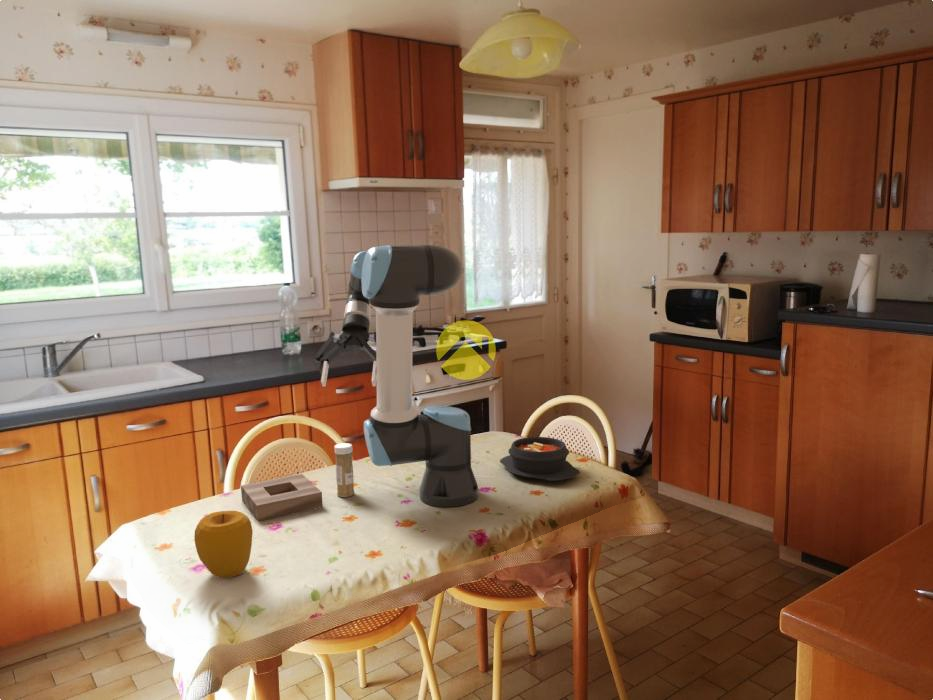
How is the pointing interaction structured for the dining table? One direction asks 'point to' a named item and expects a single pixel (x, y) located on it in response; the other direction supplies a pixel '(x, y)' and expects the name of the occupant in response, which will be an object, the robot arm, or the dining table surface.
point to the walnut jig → (281, 497)
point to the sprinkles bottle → (344, 469)
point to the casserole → (539, 459)
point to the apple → (224, 542)
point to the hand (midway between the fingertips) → (348, 384)
